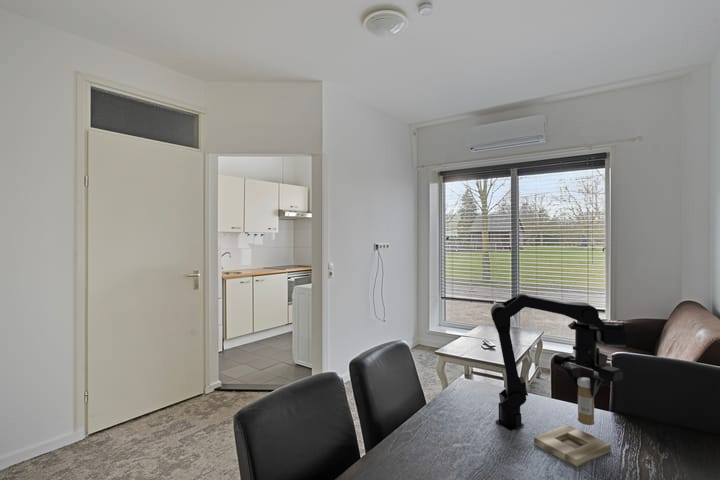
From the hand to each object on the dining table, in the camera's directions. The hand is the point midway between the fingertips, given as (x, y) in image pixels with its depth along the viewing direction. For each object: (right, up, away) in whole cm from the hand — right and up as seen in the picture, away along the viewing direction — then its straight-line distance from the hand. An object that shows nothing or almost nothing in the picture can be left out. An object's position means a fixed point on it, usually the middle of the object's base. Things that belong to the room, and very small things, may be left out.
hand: (585, 393), depth 115 cm
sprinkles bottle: (0, -9, 0) cm, 9 cm away
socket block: (-9, -13, -7) cm, 17 cm away
